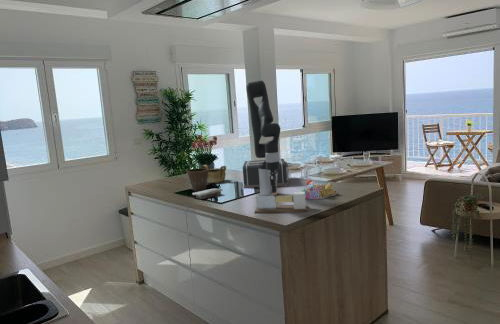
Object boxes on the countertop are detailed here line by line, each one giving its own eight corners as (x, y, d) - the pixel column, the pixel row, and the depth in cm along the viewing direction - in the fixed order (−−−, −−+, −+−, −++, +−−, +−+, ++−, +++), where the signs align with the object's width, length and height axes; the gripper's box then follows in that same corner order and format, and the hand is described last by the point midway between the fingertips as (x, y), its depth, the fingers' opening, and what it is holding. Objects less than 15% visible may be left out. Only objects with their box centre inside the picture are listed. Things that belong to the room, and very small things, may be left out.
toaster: (294, 186, 280) (292, 162, 277) (243, 190, 281) (241, 165, 279) (291, 179, 310) (289, 157, 307) (245, 182, 311) (244, 160, 309)
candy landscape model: (342, 192, 250) (341, 178, 249) (327, 201, 231) (327, 185, 230) (306, 190, 264) (305, 177, 263) (289, 198, 245) (288, 184, 244)
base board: (258, 207, 226) (258, 206, 226) (307, 206, 220) (307, 204, 220) (254, 213, 214) (254, 211, 214) (307, 211, 209) (307, 210, 209)
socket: (294, 206, 219) (293, 192, 218) (305, 205, 218) (304, 191, 217) (294, 209, 213) (293, 194, 212) (305, 208, 212) (304, 194, 211)
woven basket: (197, 185, 313) (196, 166, 311) (211, 181, 327) (210, 163, 325) (219, 186, 300) (218, 167, 298) (233, 182, 314) (231, 163, 312)
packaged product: (223, 195, 265) (215, 195, 272) (222, 188, 264) (214, 188, 272) (200, 201, 253) (192, 200, 261) (199, 193, 253) (191, 192, 261)
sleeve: (258, 207, 222) (257, 194, 221) (276, 207, 220) (275, 193, 219) (257, 209, 217) (256, 196, 216) (275, 209, 215) (274, 195, 214)
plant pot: (209, 193, 278) (207, 170, 276) (187, 194, 278) (185, 172, 276) (211, 189, 293) (209, 167, 291) (190, 190, 293) (188, 169, 291)
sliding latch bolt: (263, 201, 220) (262, 181, 219) (294, 200, 217) (293, 179, 215) (263, 203, 217) (261, 182, 215) (294, 202, 214) (293, 181, 212)
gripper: (267, 159, 222) (269, 189, 224) (263, 162, 208) (266, 195, 210) (280, 158, 220) (282, 189, 223) (277, 162, 207) (280, 194, 209)
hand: (274, 191), depth 217 cm, fingers closed on sliding latch bolt, 3 cm apart
